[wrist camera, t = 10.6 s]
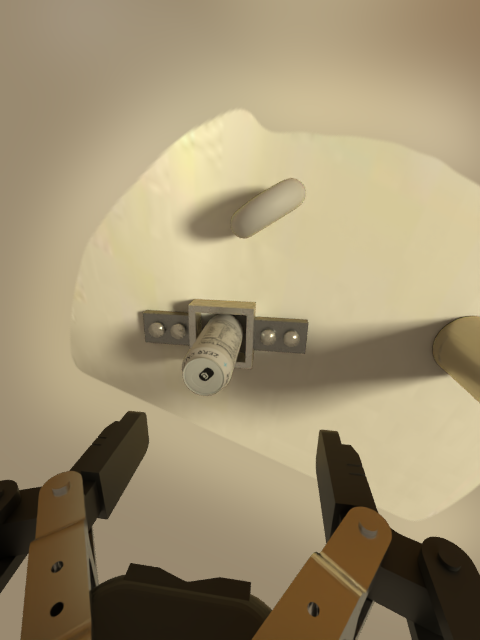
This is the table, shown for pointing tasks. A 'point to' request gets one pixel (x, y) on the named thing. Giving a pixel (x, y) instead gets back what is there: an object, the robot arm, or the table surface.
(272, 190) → the donut
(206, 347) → the energy drink can
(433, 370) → the table surface
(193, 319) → the mounting bracket
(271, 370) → the table surface
